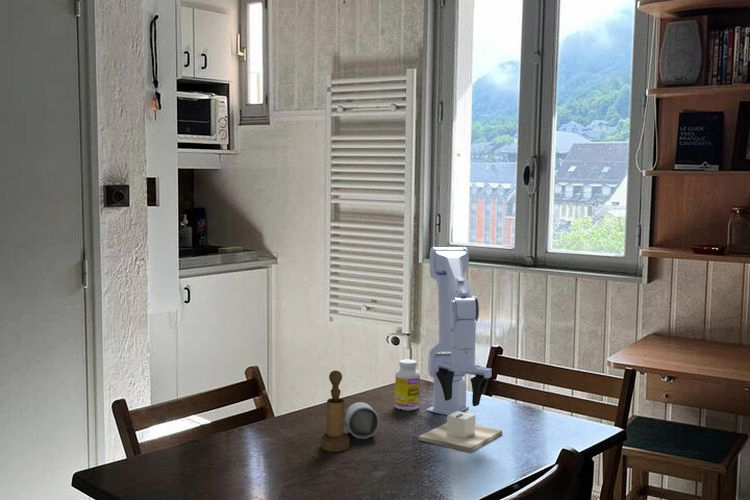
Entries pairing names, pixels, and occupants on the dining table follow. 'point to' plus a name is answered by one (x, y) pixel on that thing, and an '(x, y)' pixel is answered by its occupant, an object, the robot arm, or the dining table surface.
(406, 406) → the supplement bottle
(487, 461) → the dining table surface
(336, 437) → the mortar and pestle
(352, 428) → the ceramic mug
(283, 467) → the dining table surface
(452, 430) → the white cabinet with handle
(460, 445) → the board
